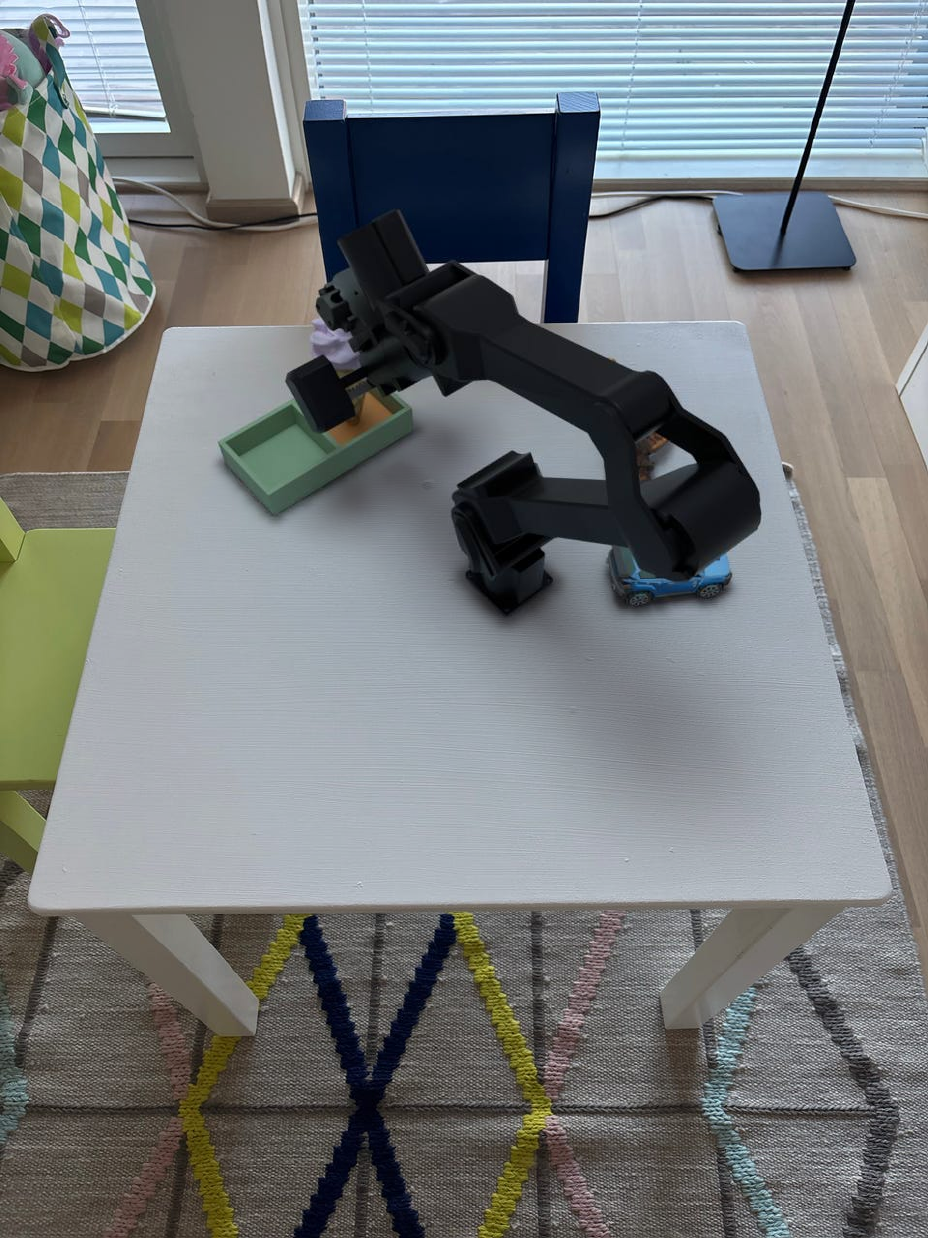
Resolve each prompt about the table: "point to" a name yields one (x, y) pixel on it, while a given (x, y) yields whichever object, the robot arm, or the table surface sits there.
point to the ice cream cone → (338, 357)
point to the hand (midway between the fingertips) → (356, 373)
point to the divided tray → (309, 448)
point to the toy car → (662, 579)
